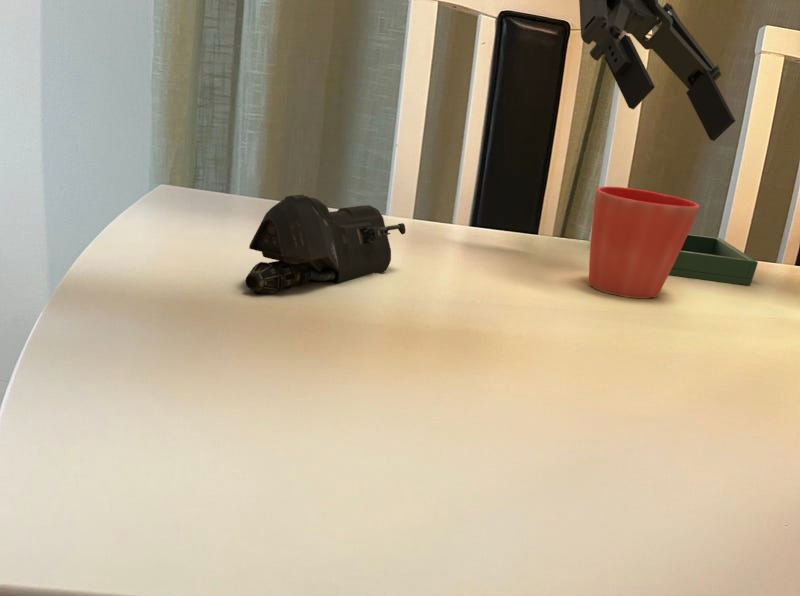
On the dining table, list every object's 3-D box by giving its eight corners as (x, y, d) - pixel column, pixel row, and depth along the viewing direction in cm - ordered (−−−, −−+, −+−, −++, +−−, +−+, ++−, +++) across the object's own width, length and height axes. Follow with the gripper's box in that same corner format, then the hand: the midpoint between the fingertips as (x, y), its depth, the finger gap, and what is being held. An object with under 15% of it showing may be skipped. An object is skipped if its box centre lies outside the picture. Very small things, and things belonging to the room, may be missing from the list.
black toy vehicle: (399, 277, 106) (412, 194, 102) (284, 307, 86) (294, 205, 82) (342, 264, 108) (352, 182, 104) (216, 290, 89) (224, 191, 84)
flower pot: (685, 307, 107) (714, 209, 102) (584, 294, 106) (608, 196, 101) (659, 285, 116) (684, 194, 111) (565, 274, 115) (586, 182, 110)
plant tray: (714, 260, 137) (720, 238, 135) (750, 285, 123) (758, 262, 121) (593, 243, 137) (599, 221, 135) (615, 267, 123) (622, 243, 121)
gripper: (651, 26, 117) (724, 168, 111) (501, -45, 102) (575, 114, 96) (703, -32, 111) (783, 114, 105) (552, -117, 97) (634, 48, 90)
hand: (684, 114), depth 101 cm, fingers open, 13 cm apart
